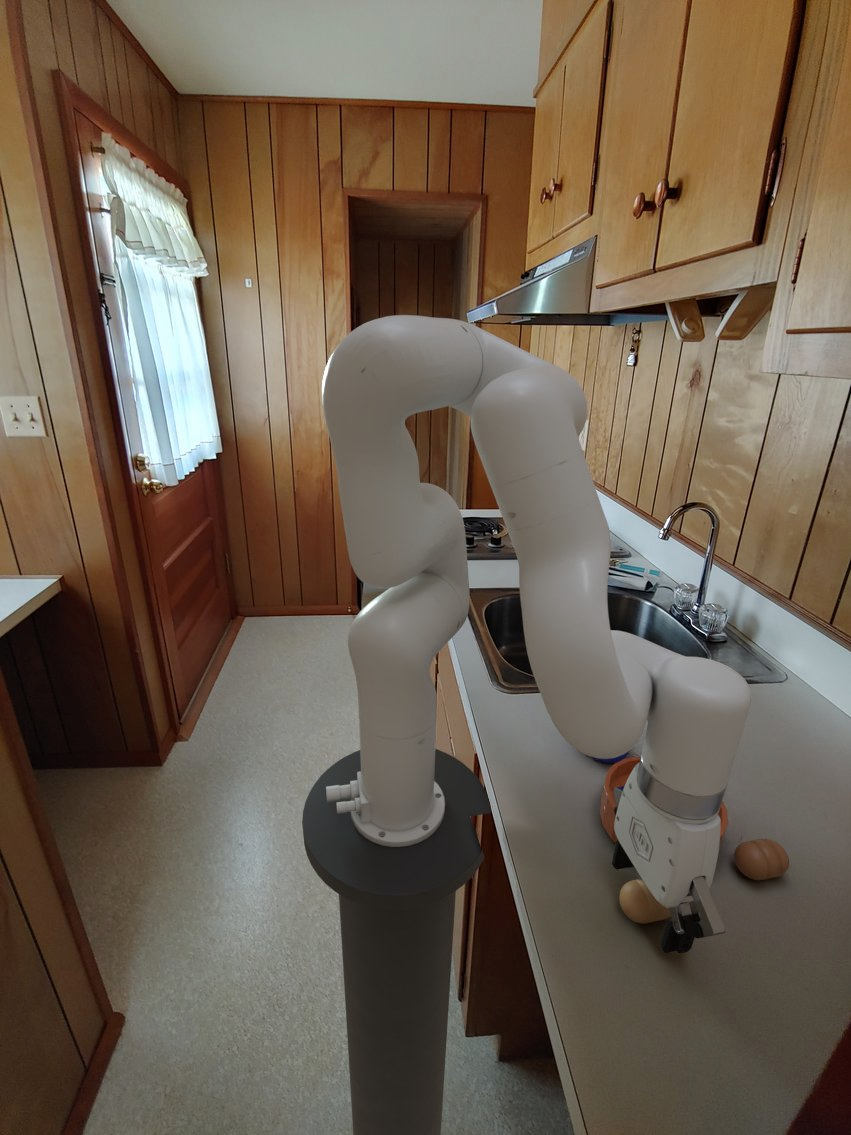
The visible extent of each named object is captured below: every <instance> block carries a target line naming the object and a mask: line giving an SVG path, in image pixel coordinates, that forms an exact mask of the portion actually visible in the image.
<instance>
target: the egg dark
mask: <svg viewBox="0 0 851 1135" xmlns="http://www.w3.org/2000/svg"><path fill="white" fill-rule="evenodd" d="M733 857H734V862H735V865H736V867H737V868H738V870H739V871H740V872H741V874H743V875H744V876H745V877H747V878H748V879H751V880H753V881H754V880H755V881H765V880H770V879H773V878H779V877H781V876H783V875H784V874H786V873H787V871H788V869H789V866H790V859H789V855H788V853H787V851H786V849H784V847H783V846H782V844H780V843H778V842H777V841H776V840H773V839H770V838H757V839H752V840H746V841H744V842H741V843H739V844H738V845H737V846H736V848H735V850H734V853H733Z"/></svg>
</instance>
